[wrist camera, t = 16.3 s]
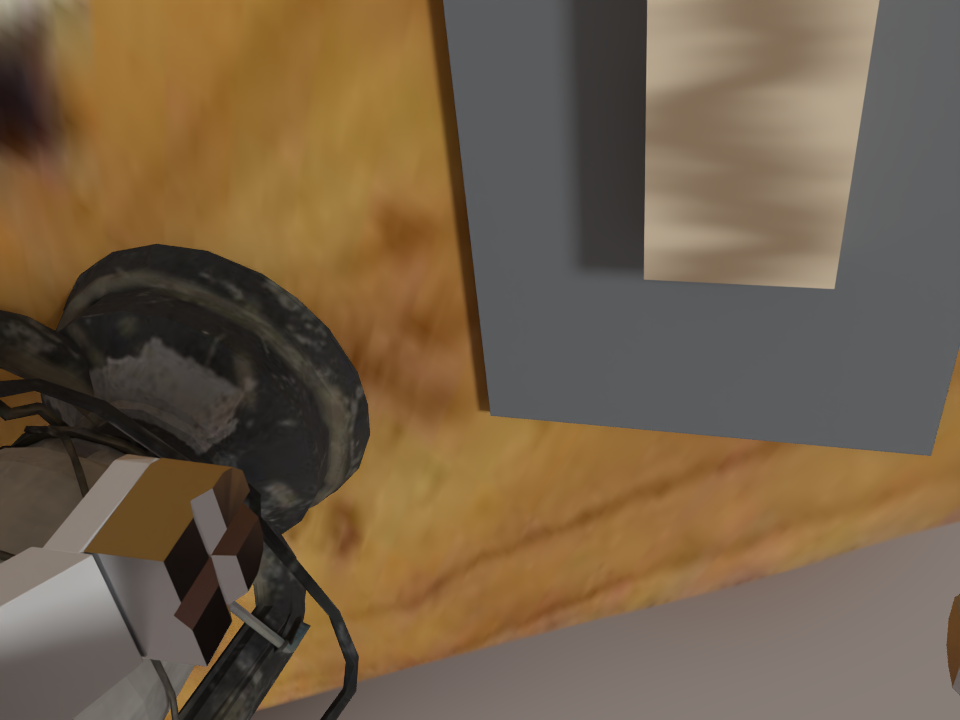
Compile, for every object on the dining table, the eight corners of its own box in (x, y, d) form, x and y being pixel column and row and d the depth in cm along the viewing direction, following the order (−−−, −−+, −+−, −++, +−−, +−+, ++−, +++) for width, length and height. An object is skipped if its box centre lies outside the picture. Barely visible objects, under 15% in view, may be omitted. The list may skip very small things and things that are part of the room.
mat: (494, 406, 37) (490, 415, 36) (421, -250, 24) (414, -248, 23) (928, 444, 33) (930, 455, 32) (1124, -323, 20) (1132, -322, 19)
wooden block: (643, 279, 28) (649, -168, 21) (651, 241, 30) (659, -182, 23) (834, 289, 27) (908, -187, 20) (830, 248, 28) (896, -200, 21)
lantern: (-33, 305, 41) (-1066, 1129, 18) (207, 56, 31) (-1516, 1253, 8) (264, 566, 47) (-223, 1429, 24) (549, 432, 37) (169, 1723, 14)
